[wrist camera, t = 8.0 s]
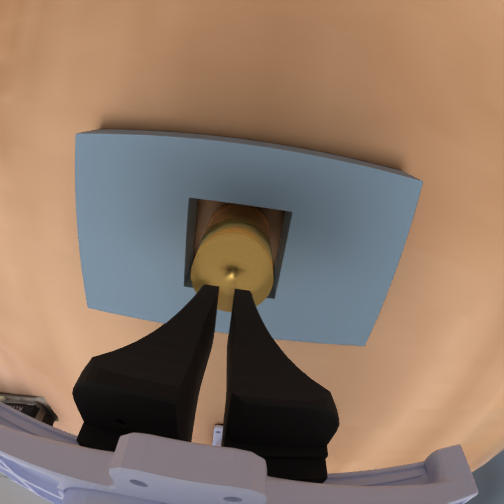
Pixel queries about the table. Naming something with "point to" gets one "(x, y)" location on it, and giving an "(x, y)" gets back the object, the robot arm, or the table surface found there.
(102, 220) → the jig
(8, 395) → the radio
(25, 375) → the table surface
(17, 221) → the table surface
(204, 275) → the brass cylinder
